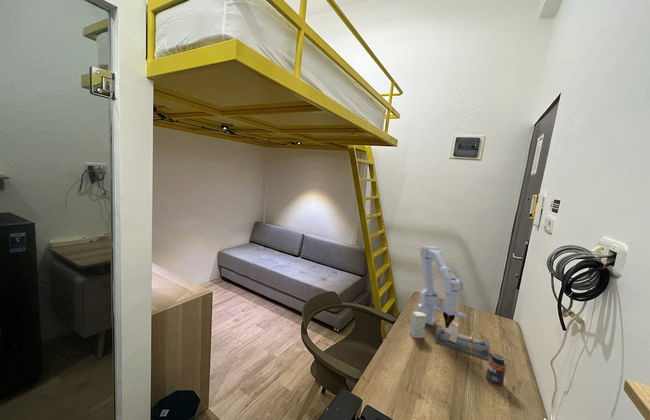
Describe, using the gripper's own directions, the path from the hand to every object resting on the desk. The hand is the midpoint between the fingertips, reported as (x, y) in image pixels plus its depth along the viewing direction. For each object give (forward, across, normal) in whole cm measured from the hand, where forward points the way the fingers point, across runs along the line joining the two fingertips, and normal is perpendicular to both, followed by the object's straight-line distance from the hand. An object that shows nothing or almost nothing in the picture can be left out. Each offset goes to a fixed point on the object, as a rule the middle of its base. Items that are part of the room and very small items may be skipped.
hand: (446, 326), depth 126 cm
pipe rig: (+7, +7, 0) cm, 10 cm away
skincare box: (+7, -14, -5) cm, 16 cm away
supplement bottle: (+7, +18, -20) cm, 28 cm away
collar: (+6, +3, 0) cm, 6 cm away
